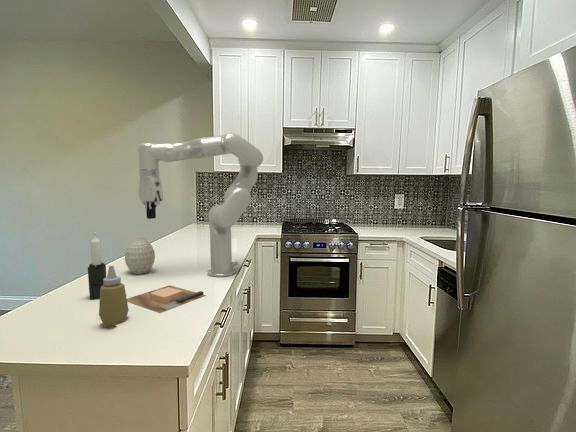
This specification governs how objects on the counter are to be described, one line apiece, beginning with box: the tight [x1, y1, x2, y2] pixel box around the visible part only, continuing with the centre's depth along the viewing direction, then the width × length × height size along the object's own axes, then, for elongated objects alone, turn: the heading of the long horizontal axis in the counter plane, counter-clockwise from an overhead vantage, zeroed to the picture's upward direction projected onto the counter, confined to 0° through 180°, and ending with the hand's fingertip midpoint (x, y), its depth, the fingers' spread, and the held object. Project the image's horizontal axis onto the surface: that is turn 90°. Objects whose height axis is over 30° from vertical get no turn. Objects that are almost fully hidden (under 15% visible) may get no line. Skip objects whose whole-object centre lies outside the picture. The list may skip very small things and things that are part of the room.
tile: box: [150, 287, 183, 304], centre depth 125 cm, size 8×2×8 cm
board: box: [127, 284, 207, 314], centre depth 125 cm, size 20×21×1 cm
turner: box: [159, 290, 204, 311], centre depth 122 cm, size 17×4×1 cm, turn 146°
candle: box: [87, 231, 107, 301], centre depth 124 cm, size 5×5×25 cm
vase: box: [124, 235, 156, 275], centre depth 161 cm, size 13×13×17 cm
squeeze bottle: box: [98, 265, 130, 328], centre depth 105 cm, size 8×8×18 cm
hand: (151, 218), depth 145 cm, fingers closed
